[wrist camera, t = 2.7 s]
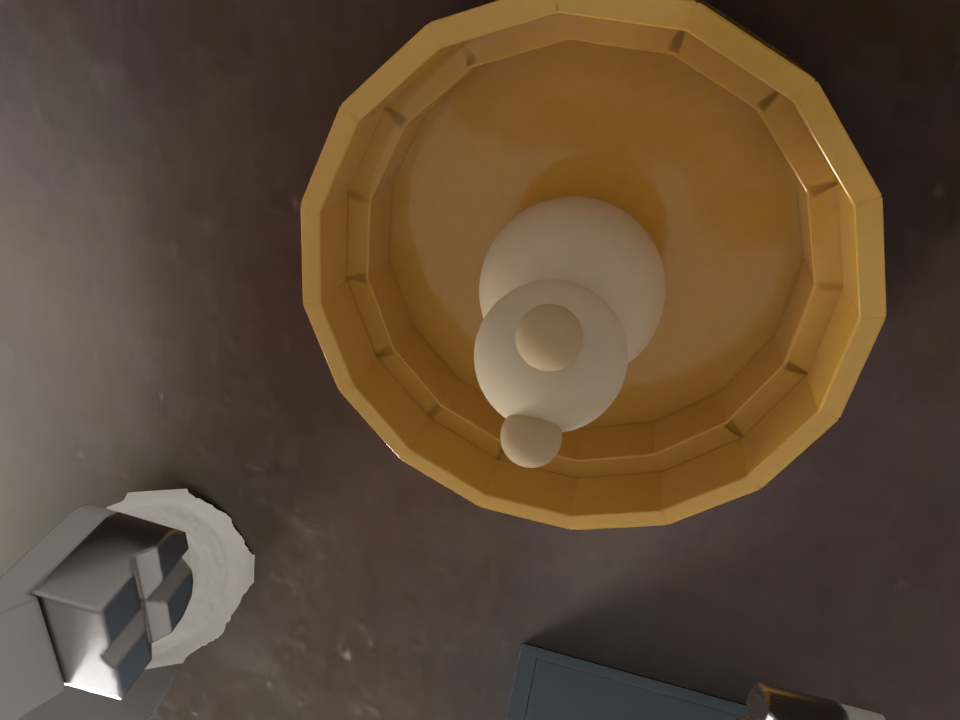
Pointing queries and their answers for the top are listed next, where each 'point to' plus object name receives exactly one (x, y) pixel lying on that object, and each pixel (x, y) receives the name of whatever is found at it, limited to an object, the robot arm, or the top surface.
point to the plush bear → (563, 318)
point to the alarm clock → (110, 700)
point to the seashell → (197, 567)
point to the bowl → (634, 189)
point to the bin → (602, 693)
